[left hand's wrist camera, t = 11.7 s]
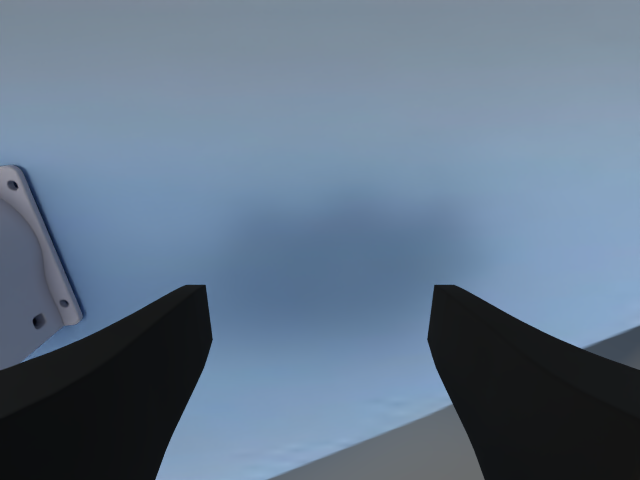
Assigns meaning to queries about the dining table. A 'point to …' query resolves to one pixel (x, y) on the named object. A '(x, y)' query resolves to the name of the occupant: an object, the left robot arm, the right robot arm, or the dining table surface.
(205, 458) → the dining table surface
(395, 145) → the dining table surface
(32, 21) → the dining table surface
